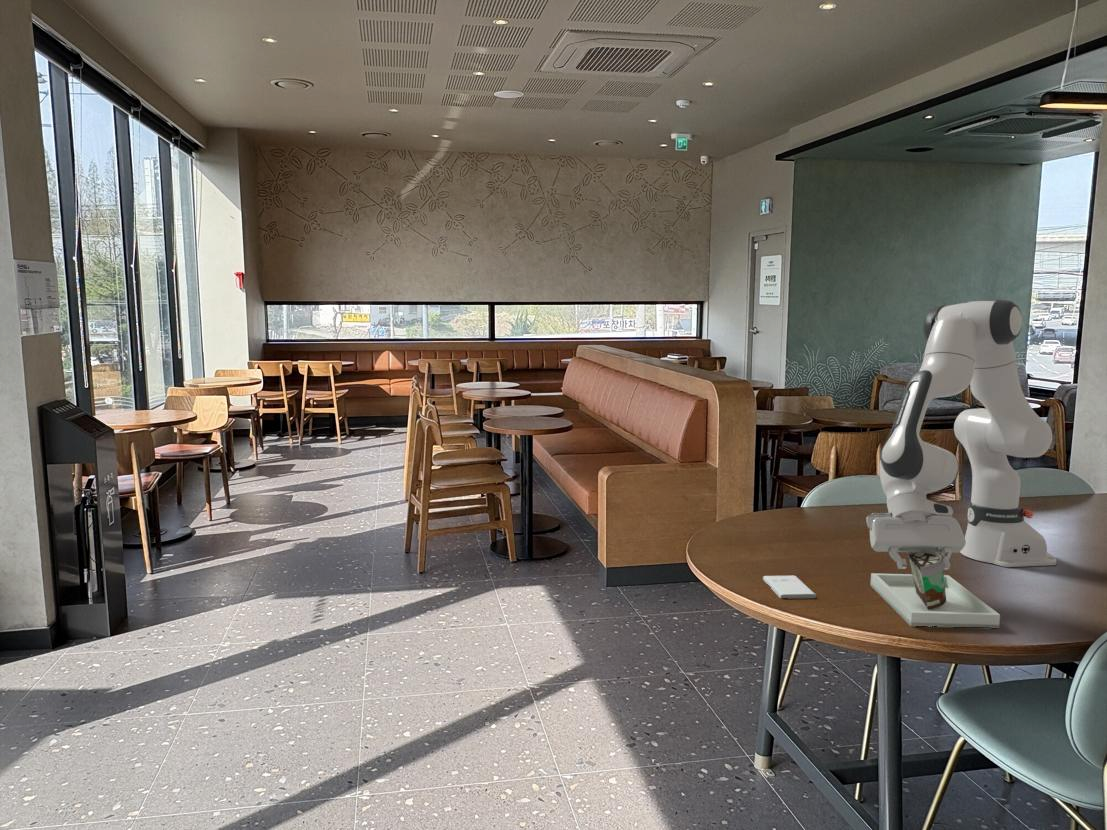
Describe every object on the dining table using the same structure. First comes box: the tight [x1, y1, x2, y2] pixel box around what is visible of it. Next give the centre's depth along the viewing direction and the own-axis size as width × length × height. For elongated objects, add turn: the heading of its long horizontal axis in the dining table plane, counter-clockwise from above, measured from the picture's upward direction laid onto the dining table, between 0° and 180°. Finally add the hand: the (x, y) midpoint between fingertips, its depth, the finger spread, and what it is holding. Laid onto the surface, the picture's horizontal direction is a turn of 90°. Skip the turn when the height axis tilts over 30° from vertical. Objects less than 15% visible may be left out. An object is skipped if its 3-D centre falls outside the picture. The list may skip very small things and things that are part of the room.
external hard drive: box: [762, 575, 817, 599], centre depth 187 cm, size 2×8×12 cm
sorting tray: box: [870, 572, 1001, 629], centre depth 178 cm, size 18×24×3 cm
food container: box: [907, 550, 946, 609], centre depth 177 cm, size 12×6×10 cm, turn 169°
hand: (924, 568), depth 177 cm, fingers open, 8 cm apart
